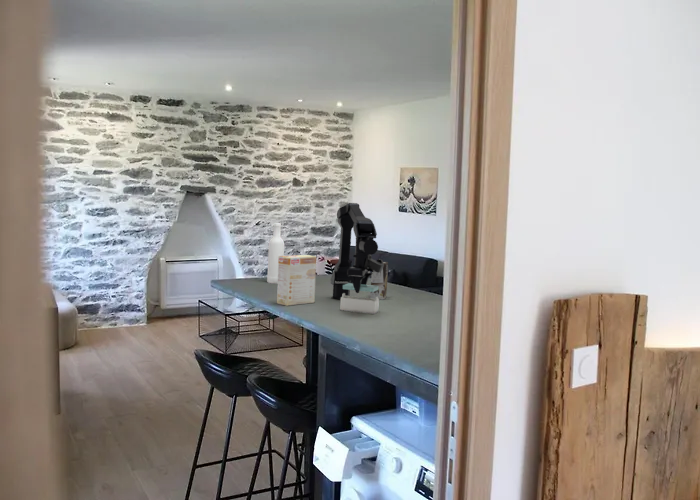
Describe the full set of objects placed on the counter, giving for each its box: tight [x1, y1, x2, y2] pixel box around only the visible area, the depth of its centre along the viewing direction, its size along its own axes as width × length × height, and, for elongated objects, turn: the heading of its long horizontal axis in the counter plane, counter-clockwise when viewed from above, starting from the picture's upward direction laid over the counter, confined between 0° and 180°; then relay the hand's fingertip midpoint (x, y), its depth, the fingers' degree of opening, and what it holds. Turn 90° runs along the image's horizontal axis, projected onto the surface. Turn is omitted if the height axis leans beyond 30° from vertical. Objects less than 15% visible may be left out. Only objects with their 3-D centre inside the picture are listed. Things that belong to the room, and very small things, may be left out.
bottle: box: [266, 222, 285, 285], centre depth 308 cm, size 8×8×30 cm
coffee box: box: [369, 261, 389, 301], centre depth 276 cm, size 9×6×16 cm
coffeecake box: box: [276, 254, 317, 307], centre depth 252 cm, size 15×7×20 cm, turn 135°
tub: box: [339, 293, 380, 315], centre depth 242 cm, size 14×6×6 cm, turn 72°
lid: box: [343, 283, 378, 293], centre depth 241 cm, size 12×7×2 cm, turn 72°
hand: (360, 291), depth 242 cm, fingers closed on lid, 7 cm apart
